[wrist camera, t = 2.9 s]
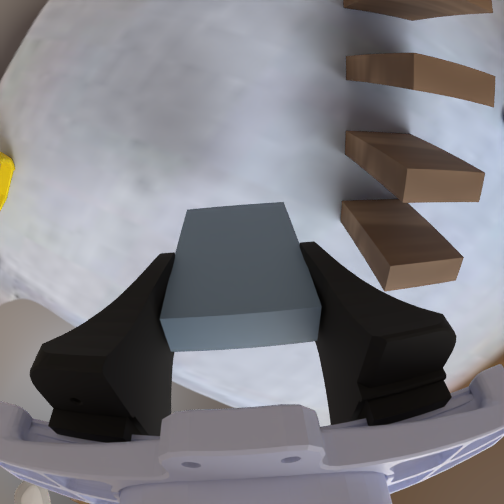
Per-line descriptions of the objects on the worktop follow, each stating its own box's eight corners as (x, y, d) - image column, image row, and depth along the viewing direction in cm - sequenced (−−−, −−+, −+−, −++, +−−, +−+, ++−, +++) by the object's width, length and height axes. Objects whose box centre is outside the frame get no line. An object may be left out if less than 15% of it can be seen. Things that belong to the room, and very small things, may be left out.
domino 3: (408, 155, 19) (478, 201, 13) (344, 153, 19) (402, 202, 13) (410, 134, 19) (485, 172, 12) (345, 130, 18) (407, 168, 12)
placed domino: (283, 229, 17) (316, 340, 10) (191, 236, 17) (170, 351, 10) (283, 202, 16) (321, 306, 9) (187, 209, 16) (159, 318, 9)
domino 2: (413, 87, 17) (493, 107, 10) (346, 79, 17) (413, 89, 10) (413, 65, 16) (495, 76, 9) (345, 56, 16) (413, 52, 9)
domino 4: (399, 218, 22) (455, 280, 15) (340, 221, 22) (384, 291, 15) (402, 199, 21) (463, 257, 15) (342, 200, 21) (390, 266, 14)
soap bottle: (56, 477, 63) (46, 539, 42) (56, 481, 66) (47, 539, 45) (20, 461, 58) (7, 523, 38) (22, 466, 62) (10, 523, 41)
